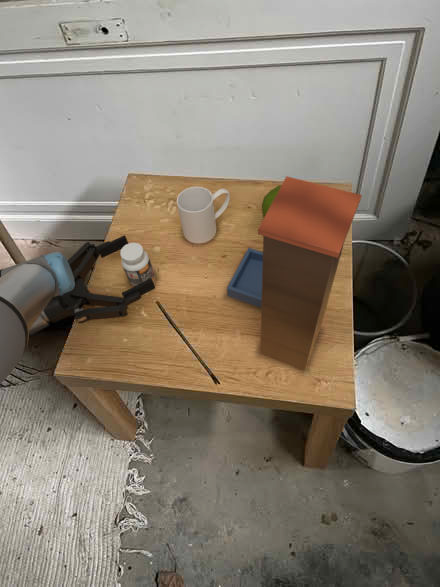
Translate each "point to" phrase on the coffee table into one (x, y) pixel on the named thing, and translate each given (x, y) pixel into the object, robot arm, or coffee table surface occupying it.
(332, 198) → the stand
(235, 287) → the blue tray
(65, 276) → the robot arm
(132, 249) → the pill bottle
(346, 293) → the coffee table surface
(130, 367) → the coffee table surface
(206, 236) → the mug
